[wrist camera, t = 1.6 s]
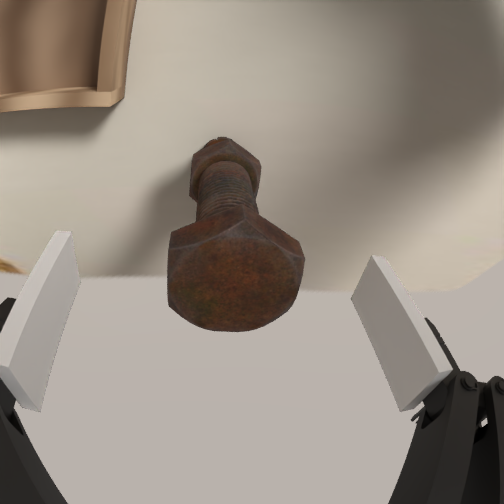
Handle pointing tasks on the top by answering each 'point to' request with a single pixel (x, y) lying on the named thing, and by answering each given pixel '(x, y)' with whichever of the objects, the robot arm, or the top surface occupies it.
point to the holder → (63, 52)
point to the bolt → (230, 248)
